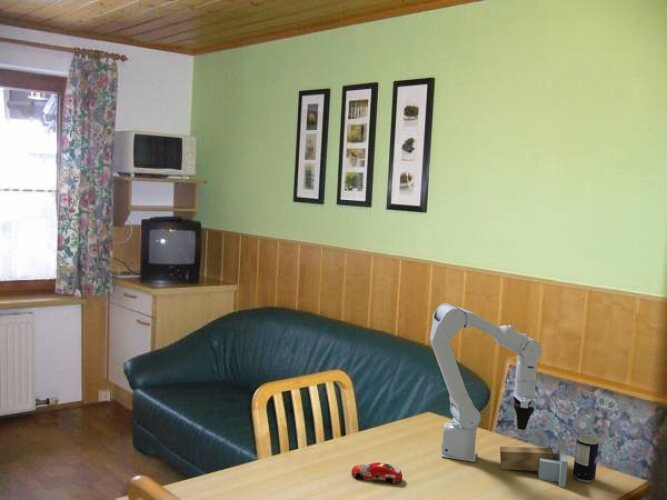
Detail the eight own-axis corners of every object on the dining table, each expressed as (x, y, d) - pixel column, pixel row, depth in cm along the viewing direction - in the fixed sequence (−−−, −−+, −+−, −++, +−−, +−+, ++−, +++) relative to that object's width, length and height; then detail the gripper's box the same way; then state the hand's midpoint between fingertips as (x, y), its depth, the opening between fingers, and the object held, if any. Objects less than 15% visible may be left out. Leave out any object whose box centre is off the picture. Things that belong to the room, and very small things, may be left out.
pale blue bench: (539, 483, 185) (542, 458, 184) (536, 461, 201) (538, 437, 200) (565, 487, 184) (567, 461, 183) (560, 465, 199) (562, 441, 199)
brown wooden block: (500, 469, 193) (500, 451, 193) (500, 463, 197) (500, 446, 197) (553, 471, 190) (553, 453, 190) (552, 465, 194) (552, 448, 193)
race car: (349, 479, 180) (350, 464, 180) (353, 471, 186) (354, 456, 185) (400, 487, 178) (401, 471, 177) (402, 478, 183) (403, 464, 183)
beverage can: (596, 484, 187) (600, 441, 186) (574, 481, 188) (578, 438, 187) (592, 476, 192) (597, 434, 191) (571, 473, 193) (575, 431, 192)
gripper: (541, 387, 194) (536, 435, 195) (538, 374, 208) (534, 419, 209) (515, 384, 195) (510, 431, 196) (514, 371, 209) (509, 416, 211)
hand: (521, 425), depth 203 cm, fingers open, 7 cm apart
